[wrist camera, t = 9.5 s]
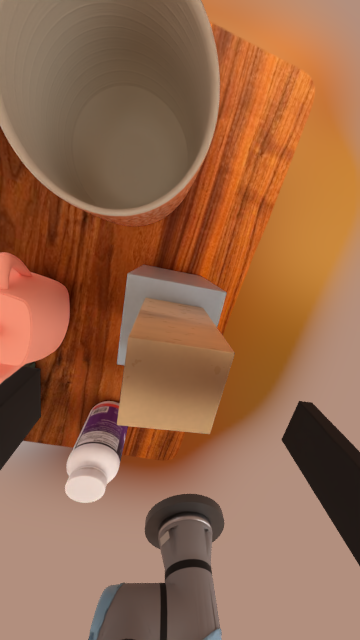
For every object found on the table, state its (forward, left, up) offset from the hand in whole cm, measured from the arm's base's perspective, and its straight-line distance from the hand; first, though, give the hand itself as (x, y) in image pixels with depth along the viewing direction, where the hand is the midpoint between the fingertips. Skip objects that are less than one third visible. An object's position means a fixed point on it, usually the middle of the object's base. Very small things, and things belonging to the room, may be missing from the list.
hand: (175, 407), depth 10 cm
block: (0, 0, -12) cm, 12 cm away
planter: (+18, +8, -27) cm, 33 cm away
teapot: (-6, +21, -27) cm, 35 cm away
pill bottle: (-27, +7, -27) cm, 38 cm away
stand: (0, 0, -27) cm, 27 cm away
